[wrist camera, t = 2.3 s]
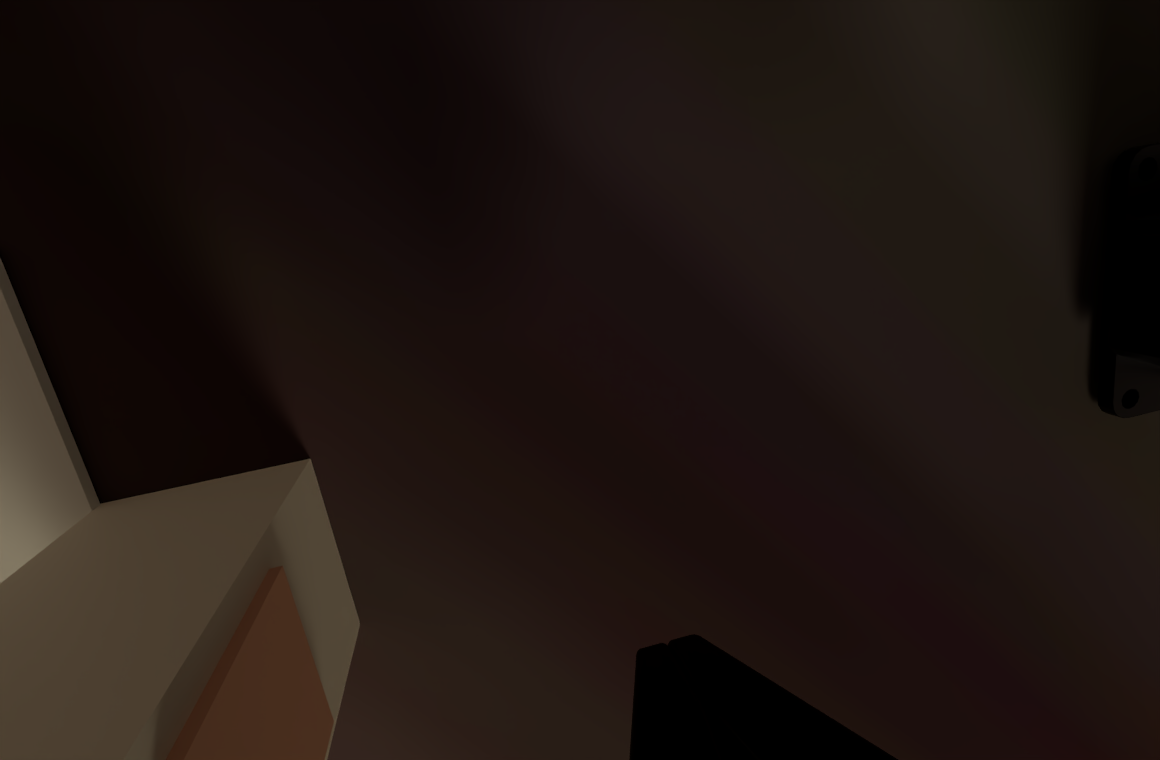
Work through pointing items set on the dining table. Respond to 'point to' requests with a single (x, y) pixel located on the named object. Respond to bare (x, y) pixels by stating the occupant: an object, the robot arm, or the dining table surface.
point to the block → (182, 628)
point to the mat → (33, 448)
